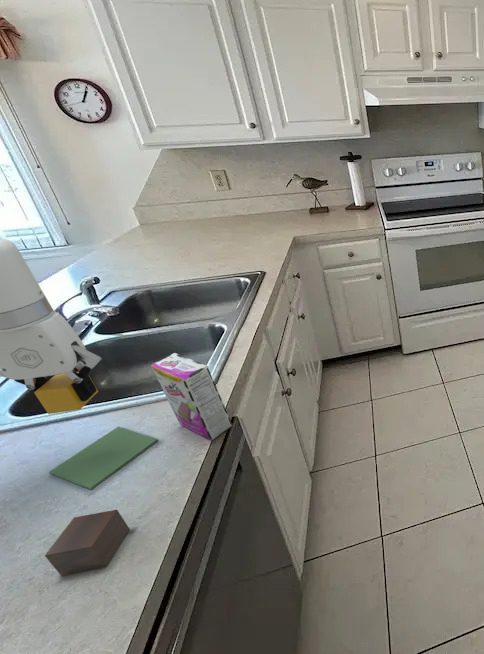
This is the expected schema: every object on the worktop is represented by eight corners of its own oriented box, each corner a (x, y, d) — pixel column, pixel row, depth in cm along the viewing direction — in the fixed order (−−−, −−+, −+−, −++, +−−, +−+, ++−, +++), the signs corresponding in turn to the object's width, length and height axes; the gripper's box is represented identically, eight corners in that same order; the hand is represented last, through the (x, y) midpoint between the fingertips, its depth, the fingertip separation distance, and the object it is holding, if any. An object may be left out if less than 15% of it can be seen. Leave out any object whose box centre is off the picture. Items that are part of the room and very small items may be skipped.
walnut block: (61, 576, 62) (44, 555, 60) (88, 537, 67) (74, 517, 65) (106, 566, 63) (91, 546, 61) (130, 529, 68) (117, 509, 66)
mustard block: (48, 414, 73) (33, 392, 71) (68, 395, 78) (55, 374, 76) (80, 409, 74) (66, 387, 72) (98, 391, 79) (86, 370, 76)
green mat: (49, 473, 78) (48, 471, 78) (119, 428, 89) (118, 426, 88) (91, 490, 75) (89, 488, 75) (158, 440, 85) (157, 439, 85)
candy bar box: (178, 426, 89) (148, 365, 82) (201, 411, 93) (175, 351, 86) (211, 442, 84) (182, 379, 77) (234, 425, 88) (208, 364, 81)
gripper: (-68, 332, 63) (-1, 421, 71) (61, 318, 66) (111, 405, 74) (-22, 309, 69) (34, 392, 77) (93, 296, 72) (136, 378, 80)
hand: (71, 397), depth 75 cm, fingers closed on mustard block, 5 cm apart
